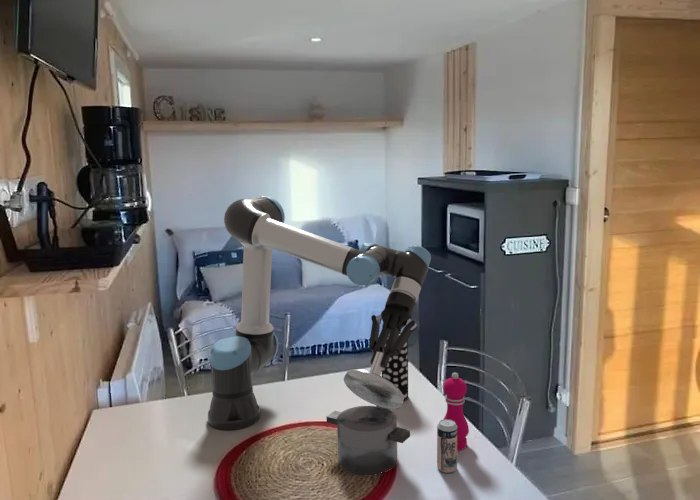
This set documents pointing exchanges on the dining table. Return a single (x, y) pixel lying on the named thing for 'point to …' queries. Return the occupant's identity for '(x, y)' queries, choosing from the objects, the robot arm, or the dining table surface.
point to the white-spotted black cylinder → (398, 370)
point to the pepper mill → (456, 407)
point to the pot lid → (373, 389)
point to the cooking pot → (367, 439)
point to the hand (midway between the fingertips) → (373, 377)
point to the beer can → (447, 446)
